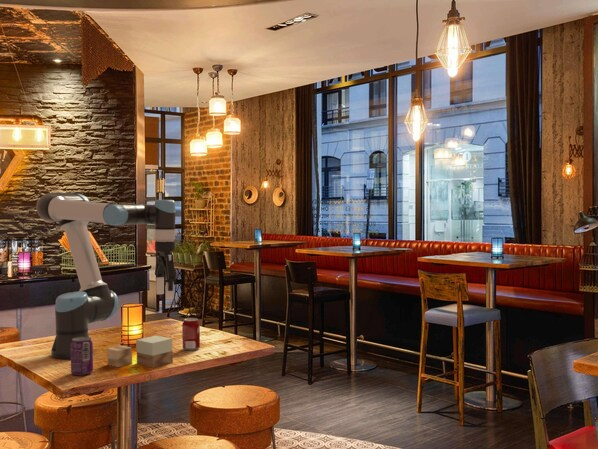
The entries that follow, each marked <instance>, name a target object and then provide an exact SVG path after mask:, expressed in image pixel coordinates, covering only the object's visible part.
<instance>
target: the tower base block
mask: <svg viewBox="0 0 598 449" xmlns="http://www.w3.org/2000/svg"><path fill="white" fill-rule="evenodd" d="M173 358H174V354H173V350H172V351H170V352H166V353H162V354H158V355H154V356H151V355H147V354H142V353H138V352H136V364H137V365H141V366H144V367H147V368H153V369H154V368H158V367H161V366H164V365H168V364H172V363H173V362H174V360H173Z"/></svg>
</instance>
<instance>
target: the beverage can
mask: <svg viewBox="0 0 598 449" xmlns="http://www.w3.org/2000/svg"><path fill="white" fill-rule="evenodd" d="M93 344H94V343H93V341H92V337H90V336H89V337H76V338H73V339H72V343H71V359H70V373H71V374H73V375H75V376H86V374H87V375H89V374H91V373H92V372H93V371H94V345H93Z"/></svg>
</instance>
